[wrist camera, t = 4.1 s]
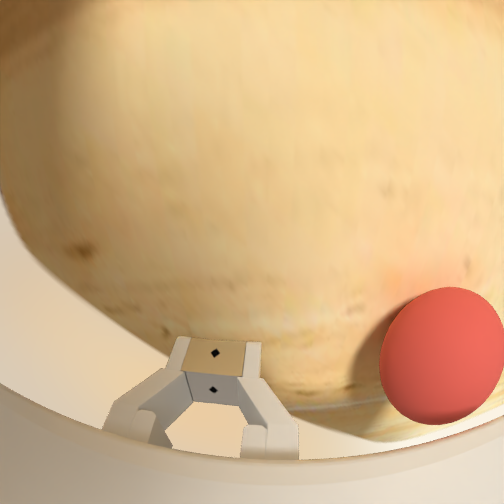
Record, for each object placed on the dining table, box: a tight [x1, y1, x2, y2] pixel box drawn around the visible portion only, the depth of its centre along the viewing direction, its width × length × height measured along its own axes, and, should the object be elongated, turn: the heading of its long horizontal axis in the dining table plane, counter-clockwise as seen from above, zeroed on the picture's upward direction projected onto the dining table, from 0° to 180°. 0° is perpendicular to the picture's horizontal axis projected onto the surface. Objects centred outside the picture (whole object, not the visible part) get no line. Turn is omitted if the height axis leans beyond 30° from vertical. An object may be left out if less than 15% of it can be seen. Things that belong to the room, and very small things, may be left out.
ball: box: [379, 287, 504, 425], centre depth 9 cm, size 6×6×6 cm
